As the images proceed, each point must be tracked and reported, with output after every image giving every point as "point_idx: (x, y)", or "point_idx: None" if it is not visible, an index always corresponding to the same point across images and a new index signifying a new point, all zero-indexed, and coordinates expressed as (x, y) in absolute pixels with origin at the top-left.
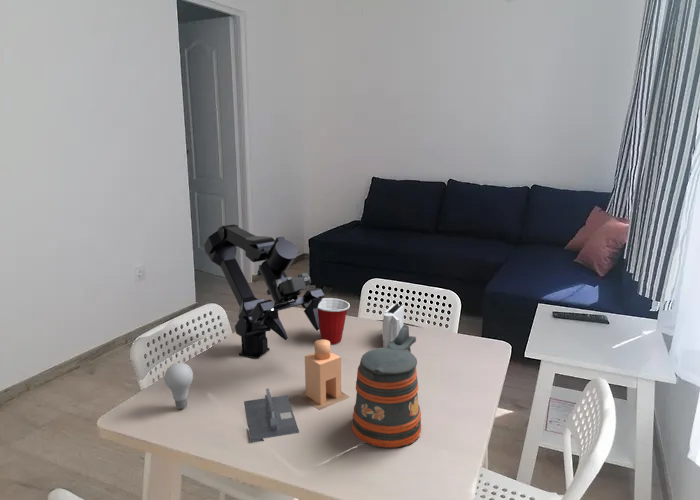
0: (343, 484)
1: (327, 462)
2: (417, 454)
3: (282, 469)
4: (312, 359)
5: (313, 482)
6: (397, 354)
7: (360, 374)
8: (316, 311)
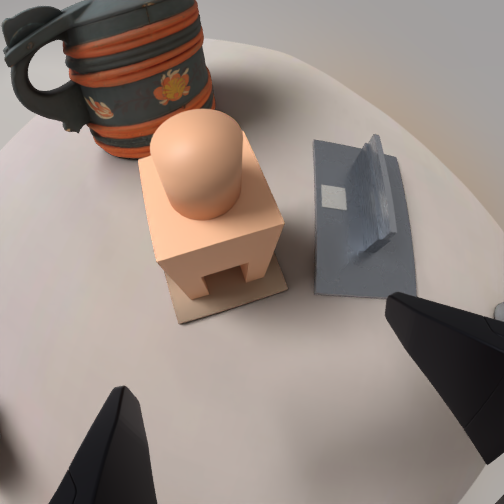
0: (273, 57)
1: (281, 83)
2: None
3: (345, 95)
4: (258, 176)
5: (307, 69)
6: None
7: (196, 3)
8: (62, 501)
